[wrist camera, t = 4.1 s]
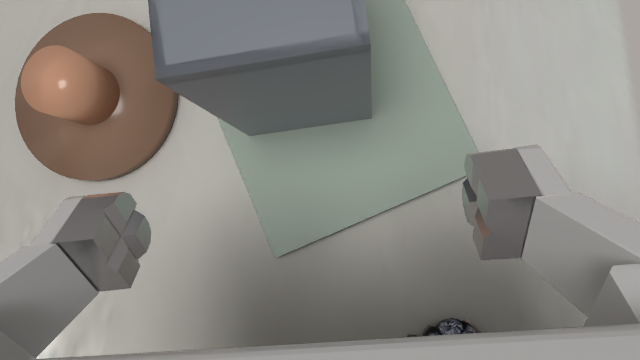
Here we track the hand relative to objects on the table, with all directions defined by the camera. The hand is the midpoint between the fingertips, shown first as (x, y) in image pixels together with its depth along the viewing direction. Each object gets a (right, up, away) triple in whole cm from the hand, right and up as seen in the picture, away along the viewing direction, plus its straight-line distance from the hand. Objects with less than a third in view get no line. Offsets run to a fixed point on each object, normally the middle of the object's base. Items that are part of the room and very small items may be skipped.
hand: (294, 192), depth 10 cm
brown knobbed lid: (-13, +5, +15) cm, 20 cm away
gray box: (0, +7, +13) cm, 14 cm away
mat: (+1, +5, +13) cm, 14 cm away
